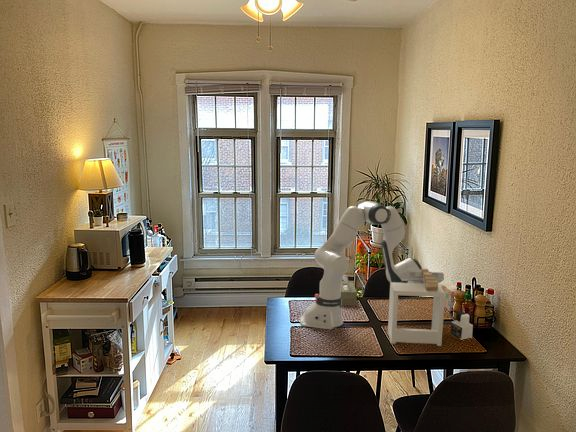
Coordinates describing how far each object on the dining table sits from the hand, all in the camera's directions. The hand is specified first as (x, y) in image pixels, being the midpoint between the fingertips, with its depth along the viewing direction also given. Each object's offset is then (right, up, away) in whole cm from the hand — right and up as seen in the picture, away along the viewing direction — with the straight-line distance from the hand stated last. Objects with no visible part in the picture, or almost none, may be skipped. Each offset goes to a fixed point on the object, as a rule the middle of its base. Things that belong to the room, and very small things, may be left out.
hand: (425, 273), depth 222 cm
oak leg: (-1, -4, -5) cm, 6 cm away
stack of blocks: (+24, -24, +40) cm, 52 cm away
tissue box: (-33, -22, +47) cm, 62 cm away
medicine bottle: (+17, -31, -2) cm, 35 cm away
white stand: (-7, -31, -5) cm, 32 cm away
